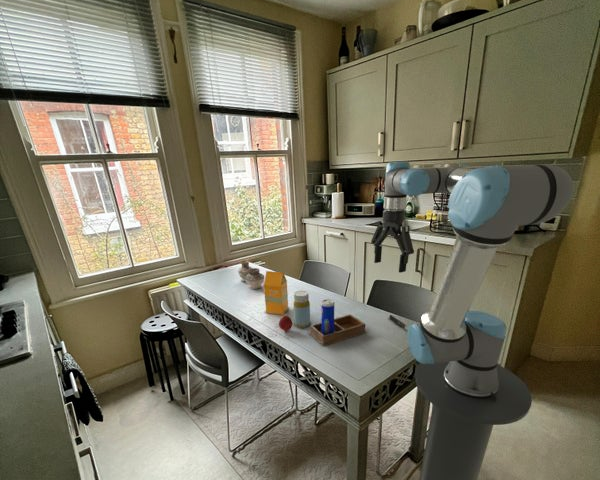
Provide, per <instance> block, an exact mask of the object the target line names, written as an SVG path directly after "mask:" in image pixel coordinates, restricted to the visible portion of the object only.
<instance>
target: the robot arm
mask: <svg viewBox="0 0 600 480" xmlns="http://www.w3.org/2000/svg"><path fill="white" fill-rule="evenodd" d="M385 170H386V171H385V181H384V182H385V183H384V197H383V210H382V220H378V221H377V224H376V225H377V226H376V228H375V232H374V234H373V236H372V237H371V240H370V243H371V244H372V245H373V246H374V249H373V250H374V251H373V253H374V261H373V262H374V264H378V263H382V255H383V254H382V253H383V245H382V244H383V242H384V241H385V240H386V239H387V237H388V236H390V237H393V239H394V240H396V243H397V245H398V247H399V250H400V252H401V254H400V255H399V264H398V273H404V272H407V264H408V263H409V256H410V255H413V254H415V250H414V246H413V242H412V237H411V234H410V233H411V232H410V225H403V222H404V221H405V218H406V211H405V209H406V207H407V206H406V205H407V197H408V196H409V197H412V196H413V197H418V196H421V195H429V194H430V195H431V194H449V195H450V196H449V199H448V203H447V208H448V209H449V210H448V211H447V216H448V217H447V218H448V220H449V222H450V224H451V225H452V231H453V233H454V234H455V236H456V238H455V241H454V243H453V246H452V248H451V251H450V254H449V257H448V260H447V262H446V266H445V268H444V271H443V274H442V275H441V280H440V283H439V285H438V288H437V291H436V293H435V296H434V298H433V301H432V304H431V307H430V309H429V310H426V311H425V312H423V314H422V316H421V318H420V321H419V322H418V323H413V324H410V325H409V326H408V331H407V342H408V347H409V350H410V352H411V354H412V356H413V357H414V359H415V361H417V362H418V364H419V363H422V364H434V363H442V362H449V364H448V365H447V367H446V368H445V371H444V375H443V378H444V381H445V383H446V384H447V385H448V386H449V387H450V388H451V389H452V390H454V391H456V392H457V393H459V394H462V395H464V396H467V397H471V398H479V399H484V398H490V397H493V398H494V400H495V399H497V397H496V396H495V394H496V393H497V391H498V387H499V381H498V375H497V368H496V367H497V364H498V363H499V360H500V359H499V358H500V357H501V352H502V349H503V346H504V342H505V339H506V334H507V324H506V323H505V322H504V321H503V320H502V319H500V318H499V317H497V316H495V315H493V314H491V313H488V312H483V311H480V310H471V309H470V308H471V307H472V305H473V302H474V300H475V298H476V296H477V294H478V292H479V289H480V287H481V285H482V283H483V280H484V279H485V277H486V274H487V272H488V270H489V268H490V266H491V264H492V262H493V260H494V258H495V255H496V253H497V251H498V249H499V247H502V246H504V245H507V244H509V243H510V242H511V240H512V238H513V236H514V234H515V232H516V230H517V228H518V227H521V226H532V225H539V224H542V223H546V222H548V221H550V220H552V219H554V218H556V217H557V216H559V215H560V214H561V213H563V211H564V210H565V209H566V208H567V206H568V205H569V204H570V202H571V200H572V198H573V195H574V183H573V179H572V177H571V176H570V173H568V172H567V171H566V170H565V169H564V168H561V167H560V166H557V165H553V164H547V163H546V164H545V163H544V164H543V163H541V164H526V165H525V164H523V165H521V164H520V165H490V166H486V167H479V168H470V167H469V168H468V167H467V166H447V167H427V168H426V167H425V168H423V167H421V168H411V165H410V162H409V161H390V162H388V163H387V164H386V169H385Z"/></svg>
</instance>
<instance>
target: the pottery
mask: <svg viewBox="0 0 600 480" xmlns="http://www.w3.org/2000/svg"><path fill="white" fill-rule="evenodd" d="M240 264H241V267H239V269H238V270H237V273H238V275H239V277H240V278H241V281H242V282H245V283H246V284H247V285H248V286H250V288H251V289H252V290H257V289H260V288H261V287H262V286H261V285H262V284H264V282H265V275H264V274H263V273H260V271H261V270H260V268H257V267H251V266H250V261H249V260H247V259H245V260H244V259H243V260H240Z"/></svg>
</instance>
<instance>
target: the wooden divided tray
mask: <svg viewBox="0 0 600 480" xmlns="http://www.w3.org/2000/svg"><path fill="white" fill-rule="evenodd" d="M365 333H366V323H365V322H364V321H361V319H358V318H357V317H355V316H354V315H353V314H346V315H343V316H339V317H336V318H334V333H331V334H328V335H323V334H322V322H318V323H315V324H311V325H310V335H311V336H312V337H313V338H314V339H315V340H316V341H318V343H319V344H321V345H322V346H323V347H324V346H328V345H330V344H333V343H337V342H339V341H343V340H347V339H350V338H353V337H356V336H359V335H362V334H365Z"/></svg>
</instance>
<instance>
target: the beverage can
mask: <svg viewBox="0 0 600 480" xmlns="http://www.w3.org/2000/svg"><path fill="white" fill-rule="evenodd" d="M320 305H321V306H320V308H321V311H320V312H321V313H320V314H321V315H320V316H321V317H320V319H321V321H320V323H322V334H323V335H328V334H331V333H334V319H335V301H334V300H333V299H324V300H322V301H321V304H320Z"/></svg>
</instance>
